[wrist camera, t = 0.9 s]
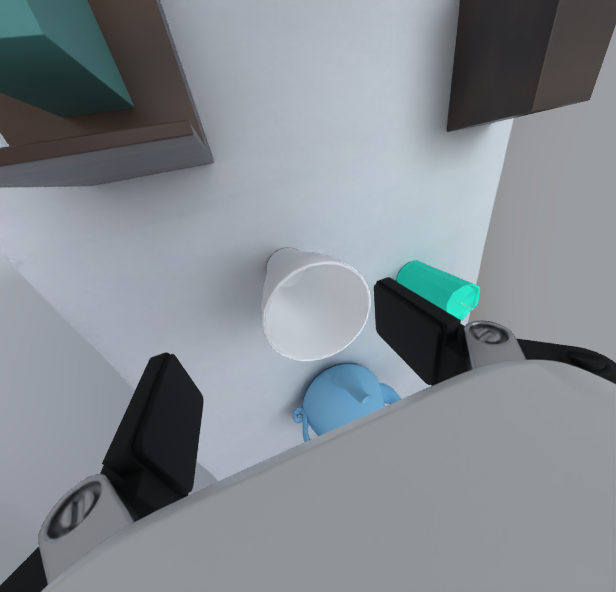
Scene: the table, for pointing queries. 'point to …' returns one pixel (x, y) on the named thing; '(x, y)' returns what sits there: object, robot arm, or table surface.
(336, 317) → the cup
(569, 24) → the dark brown box
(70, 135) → the shelf
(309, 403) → the teapot
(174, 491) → the robot arm
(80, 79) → the block
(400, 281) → the candle
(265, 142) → the table surface
